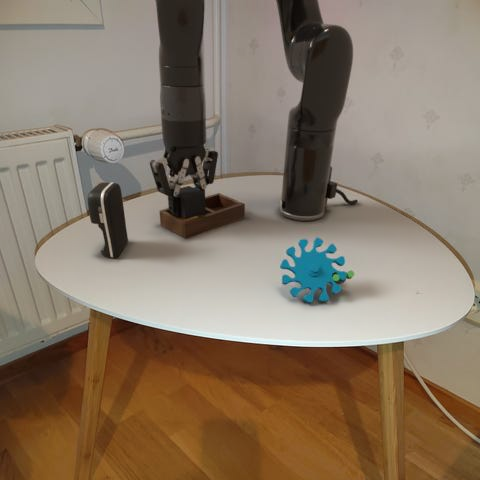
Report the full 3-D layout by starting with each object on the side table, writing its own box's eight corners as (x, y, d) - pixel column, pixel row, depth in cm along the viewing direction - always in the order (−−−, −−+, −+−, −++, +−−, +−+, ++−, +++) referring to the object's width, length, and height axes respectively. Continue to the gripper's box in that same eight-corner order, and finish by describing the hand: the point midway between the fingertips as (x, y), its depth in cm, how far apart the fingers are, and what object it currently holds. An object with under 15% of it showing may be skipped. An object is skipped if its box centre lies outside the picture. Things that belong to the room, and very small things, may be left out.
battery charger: (109, 240, 77) (98, 178, 70) (129, 241, 77) (120, 179, 70) (95, 258, 72) (81, 192, 65) (116, 259, 71) (105, 194, 65)
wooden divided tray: (160, 225, 83) (159, 210, 81) (219, 206, 92) (218, 192, 90) (185, 239, 78) (184, 223, 77) (244, 218, 87) (245, 203, 85)
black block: (189, 205, 84) (188, 185, 82) (205, 212, 81) (205, 192, 79) (169, 211, 81) (167, 191, 79) (185, 219, 78) (184, 198, 76)
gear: (275, 294, 61) (287, 229, 62) (271, 301, 67) (282, 242, 68) (349, 309, 61) (360, 244, 62) (338, 315, 67) (348, 256, 68)
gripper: (161, 123, 65) (168, 226, 75) (229, 113, 73) (228, 207, 83) (134, 115, 69) (145, 214, 79) (202, 106, 77) (203, 196, 87)
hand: (187, 210), depth 81 cm, fingers closed on black block, 5 cm apart
